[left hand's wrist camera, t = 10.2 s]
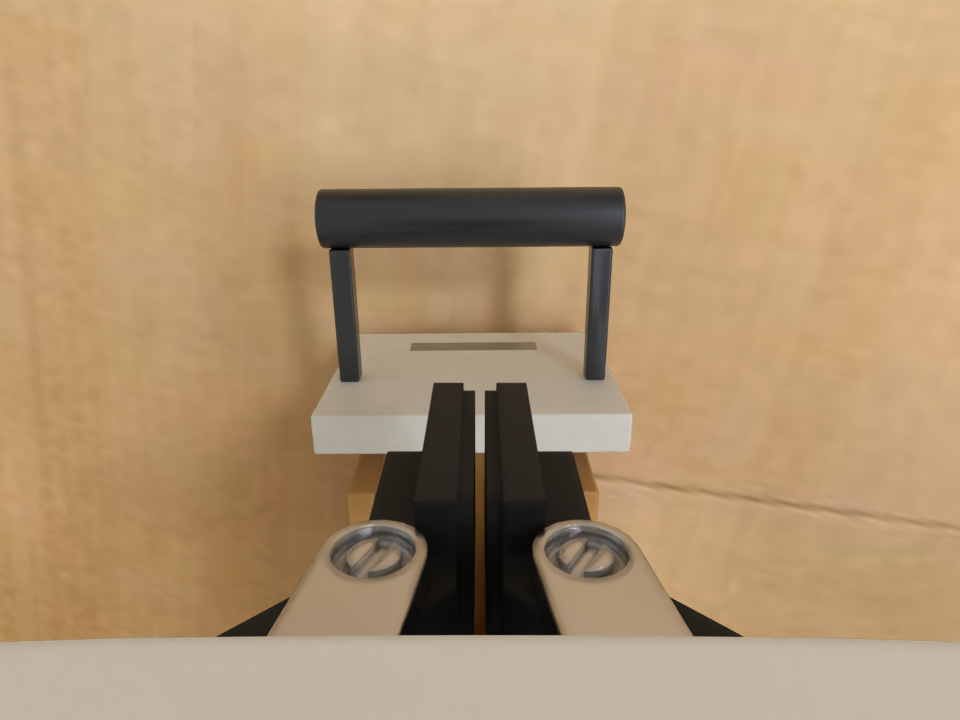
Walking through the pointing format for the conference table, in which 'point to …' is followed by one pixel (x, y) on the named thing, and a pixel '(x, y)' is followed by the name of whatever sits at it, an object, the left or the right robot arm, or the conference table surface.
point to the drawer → (469, 335)
